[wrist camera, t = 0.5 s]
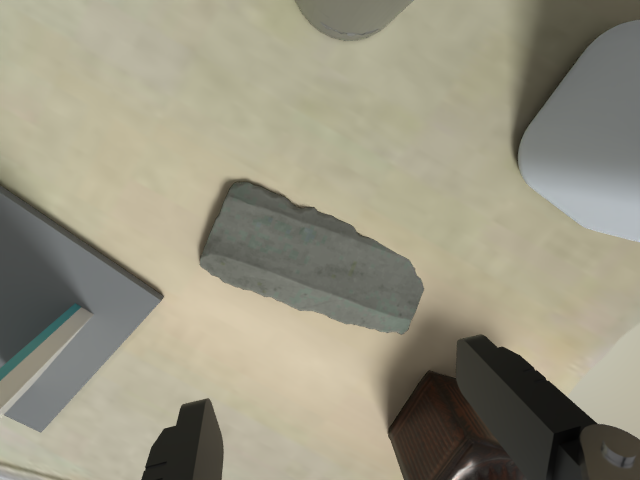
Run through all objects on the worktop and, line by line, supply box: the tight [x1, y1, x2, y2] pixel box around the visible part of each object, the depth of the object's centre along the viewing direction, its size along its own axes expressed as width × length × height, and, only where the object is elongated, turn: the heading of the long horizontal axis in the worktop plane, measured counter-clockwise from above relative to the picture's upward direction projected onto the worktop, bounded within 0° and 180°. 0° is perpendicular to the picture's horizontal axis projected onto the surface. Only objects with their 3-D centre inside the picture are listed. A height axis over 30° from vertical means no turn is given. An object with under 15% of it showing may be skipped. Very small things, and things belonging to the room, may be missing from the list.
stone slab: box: [200, 182, 424, 334], centre depth 32 cm, size 22×3×10 cm
